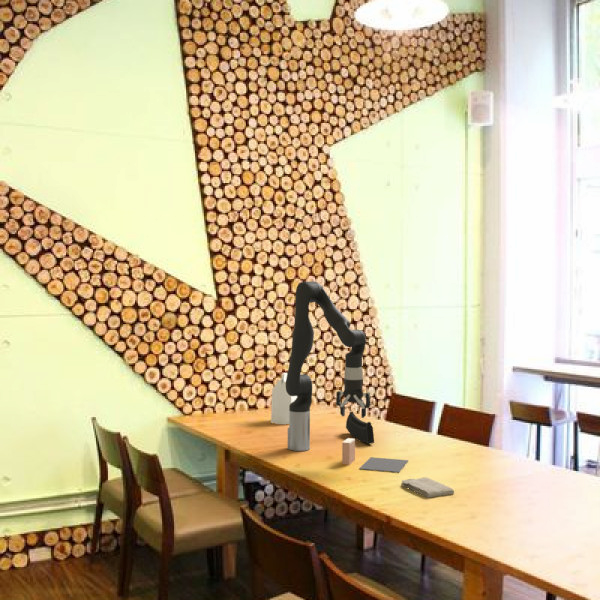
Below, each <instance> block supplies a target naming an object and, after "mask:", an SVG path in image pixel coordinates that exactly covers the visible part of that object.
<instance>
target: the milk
mask: <svg viewBox="0 0 600 600" xmlns="http://www.w3.org/2000/svg"><path fill="white" fill-rule="evenodd" d="M287 373H288V372H284V373H281V378H280V379H278V380H277V382H276V384H275V385H274V386H273V388H272V391H271V411H270V412H271V413H270V414H271V416H270V424H271V423H275V424H274V425H286V424H289V405H290V404H291V403H292V402H294V401H295V400H296V398H297V396H290V395H288V393H287V391H286V378H287Z"/></svg>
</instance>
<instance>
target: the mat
mask: <svg viewBox="0 0 600 600" xmlns="http://www.w3.org/2000/svg"><path fill="white" fill-rule="evenodd" d="M408 462H409V459H398V458H397V459H396V458H386V457H384V458H383V457H382V458H381V457H374V456H371V457H369V458H368V459H367V460H366V461H365V462H364V463H363V464H362V465H361V466H360V467H358V469H359V470H361V469H364V470H363V471H372V470H378V471H377V472H384V471H390V472H389V473H395V472H398V473H397V474H400V472H401V471H402V470H403V468H404V467H405V466H406V465H407V463H408ZM405 464H406V465H405ZM401 469H402V470H401ZM400 470H401V471H400Z"/></svg>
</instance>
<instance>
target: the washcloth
mask: <svg viewBox="0 0 600 600" xmlns="http://www.w3.org/2000/svg"><path fill="white" fill-rule="evenodd" d="M401 482H402V483H401V484H400V485H401V486H402V487H403V488H405V489H406V488H409V491H411V492H413V491H415V492H416V493H415V492H414V493H415V494H417V493H418V494H417V495H420V494H421V495H420V496H422V495H423V497H424V496H425V497H424V498H427V499H429V498H430V497H431V498H436V497H441V496H442V495H443V496H442V497H444V496H449V495H450V494H451V495H454V494H455V490H454V489H453V488H451V487H450V486H447V485H445V484H443V483H441V482H439V481H436V480H433V479H431V478H429V477H427V476H426V477H425V476H424V477H420V478H409V479H403V480H402V481H401ZM451 495H450V496H451Z"/></svg>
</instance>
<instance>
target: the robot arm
mask: <svg viewBox="0 0 600 600" xmlns="http://www.w3.org/2000/svg"><path fill="white" fill-rule="evenodd" d="M294 298H295V300H294V301H295V304H294V305H295V307H294V308H295V309H294V310H295V313H294V325H293V331H292V332H293V333H292V341H291V350H290V356H289V357H290V358H289V364H288V369H287V372H286V373H287V378H286V391H287V393H288V395H290V396H297V398H296V400H295V401H294V402H292V403H291V404H290V405H289V425H288V427H287V450H290V451H295V452H304V451H305V452H306V451H309V450H310V449H311V443H310V442H311V437H310V435H311V406H312V401H313V382H312V378H311V377H310V375H308V374H306V373H301V372H302V368H303V365H304V364H305V362H306V359H307V358H308V357H309V355H310V353H311V351H312V349H313V346H314V338H315V336H314V335H315V331H314V328H313V325H312V322H311V321H310V317H309V308H310V303H311V304H312V303H315V304H316V305H318V306H319V307H320V308H321V309H322V311H323V314H324V317H325V321H326V322H327V324H328V325H330V327H331V328H332V329H333V331H335V333H336V335H337V337H338V339H339V341H340V342H341V343H342V344H343V346H345V347H347V348H351V349H350V351H349V352H347V353H346V354H345V357H344V358H345V359H344V373H343V374H344V381H343V382H344V387H343V388H344V389H343V391H341V390H338V391H337V392H336V397H335V398H336V399H335V400H336V401H335V405H336V406H338V407H339V408H340V411H339V413H340V415H341V417H345V416H346V415H345V414H346V407H345V406H346V404H347V403H355V404H358V405H359V406H360V407H361V416H360V417H361V419H364V418H365V417H366V415H367V408H368V409H369V408H370V407H371V406H372V405H371V403H372V402H371V392H364V391H363V378H364V375H363V373H364V371H363V355H364V351H365V347H366V343H367V337H366V334H365V332H364V331H363V330H361V329H350V327H351V322H350V321H349V320H348V319H347V318H346V316H345V315H344V314H343V313H342V312H341V311H340V310H339V309H338V308H337V307H336V305H335V304H334V302H333V301H332V299H331V297H329V295H328V294H327V292H326V290H325V289H324V287H323V286H322V285H321V283H319V282H317V281H301V282H299V283H298V284H297V286H296V288H295V297H294ZM343 396H344V399H343V401H341V399H342V397H343ZM363 397H364V399H365V402H364V400H363V399H362V398H363Z"/></svg>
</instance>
